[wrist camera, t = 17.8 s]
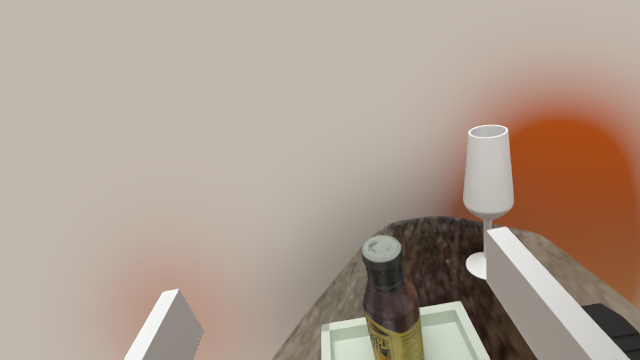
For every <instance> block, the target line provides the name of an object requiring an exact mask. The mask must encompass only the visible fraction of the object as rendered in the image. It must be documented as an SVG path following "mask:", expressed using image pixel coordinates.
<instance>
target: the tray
mask: <svg viewBox="0 0 640 360" xmlns="http://www.w3.org/2000/svg"><path fill="white" fill-rule="evenodd" d="M419 309H420V318H421V327H422V337H423V347H424V356H425V360H490V358H489V356H488V354H487V352H486V350H485V348H484V346H483V344H482V342H481V340H480V338H479V336H478V334H477V332H476V331H475V329H474V327H473V325H472V323H471V321H470V319H469V317H468V315H467V313H466V311H465V309H464V307H463V305H462V303H461V301H458V302H452V303H446V304H440V305H434V306H428V307H423V308H419ZM321 345H322V360H375V356H374V352H373V348H372V344H371V340H370V335H369V331H368V327H367V322H366V318H365V317H364V318H358V319H352V320H346V321H340V322H334V323H328V324H322V325H321Z"/></svg>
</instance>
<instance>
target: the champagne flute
mask: <svg viewBox="0 0 640 360" xmlns="http://www.w3.org/2000/svg"><path fill="white" fill-rule="evenodd" d="M463 202H464V204H465V206H466V208H467V209H468V210H469V211H470V212H471V213H472V214H474V215H475V216H477V217H479V218H481V219H483V220H484V252H478V253H475V254H472V255H471V256H469V257H468V259H467V261H466V267H467V269H468V270H469V271H470V272H471V273H472V274H473V275H475V276H477V277H479V278H482V279H486V230H491V229H492V220H494V219H497V218H499V217H501V216H503V215H504V214H506V213H507V212H508V211H509V210H510V209H511V208H512V206H513V203H514V196H513V183H512V172H511V160H510V148H509V136H508V129H507V128H506V127H504V126H500V125H483V126H478V127H475V128H473V129H471V130H470V131H469V132H468V144H467V156H466V169H465V182H464V195H463Z"/></svg>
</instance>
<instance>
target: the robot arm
mask: <svg viewBox="0 0 640 360" xmlns="http://www.w3.org/2000/svg"><path fill="white" fill-rule="evenodd" d="M486 281H487V283H488V284H489V286H490V287H491V289H492V290H493V292H494V294H495V295H496V297H497V298H498V300H499V301H500V303H501V304H502V306H503V307H504V309H505V310H506V312H507V313H508V315H509V316H510V318H511V319H512V321H513V322H514V324H515V326H516V327H517V329H518V330H519V332H520V333H521V335H522V336H523V338H524V339H525V341H526V342H527V344H528V345H529V347H530V348H531V350H532V351H533V353H534V354H535V356H536V357H537V359H538V360H640V334H639V332H638V331H637V330H636V329H635V328H634V327H633V326H632V325H631V324H630V323H629V322H628V321H627V320H626V319H624V318H623V317H622V316H621V315H619V314H618V313H616V312H614V311H612V310H611V309H609V308H607V307H606V306H604V305H602V304H601V303H598V304H592V305H586V306H580V305H579V304H578V303H577V302H576V301H575V300H574V299H573V298H572V297H571V296H570V295H569V294H568V293H567V291H566V290H565V289H564V288H563V287H562V286H561V285H560V284H559V283H558V282H557V281H556V280H555V279H554V277H553V276H552V275H551V274H550V273H549V272H548V271H547V270H546V269H545V268H544V267H543V266H542V265H541V264H540V262H539V261H538V260H537V259H536V258H535V257H534V256H533V255H532V254H531V253H530V252H529V251H528V250H527V249H526V247H525V246H524V245H523V244H522V243H521V242H520V241H519V240H518V239H517V238H516V237H515V236H514V235H513V233H512V232H511V231H510V230H509V229H508V228H507V227H502V228H496V229H491V230H486ZM203 331H204V330H203V328H202V327H201V325H200V323H199V321H198V320H197V318H196V316H195V315H194V313H193V311H192V310H191V308H190V306H189V304H188V303H187V301H186V299H185V298H184V296H183V294H182V293H181V291H180V289H175V290H170V291H165V292H163V293H162V295H161V296H160V298H159V300H158V301H157V303H156V305H155V307H154V308H153V310H152V312H151V313H150V315H149V317H148V319H147V320H146V322H145V324H144V325H143V327H142V329H141V331H140V332H139V334H138V336H137V338H136V339H135V341H134V343H133V344H132V346H131V348H130V350H129V352H128V353H127V355H126V357H125V358H124V360H193V358H194V356H195V353H196V350H197V347H198V345H199V342H200V339H201V337H202V334H203Z"/></svg>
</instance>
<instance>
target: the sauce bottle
mask: <svg viewBox="0 0 640 360" xmlns="http://www.w3.org/2000/svg"><path fill="white" fill-rule="evenodd" d="M362 258H363V262H364V264H365V265H366V269H367V274H368V281H367V285H366V289H365V293H364V297H363V309H364V314H365V318H366V322H367V327H368V331H369V335H370V340H371V344H372V348H373V352H374V356H375V360H425V356H424V347H423V337H422V327H421V318H420V309H419V306H418V300H417V293H416V289H415V288H414V285H413V284H412V282H411V281H410V280H409V278H408V277H406V276H404V271H403V268H402V259H403V253H402V247H401V244H400V243H399V242H398V241H397V240H396V239H395V238H393V237H391V236H384V235H381V236H375V237H372V238H370V239H369V240H367V241H366V242H365V244H364V245H363V247H362Z"/></svg>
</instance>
